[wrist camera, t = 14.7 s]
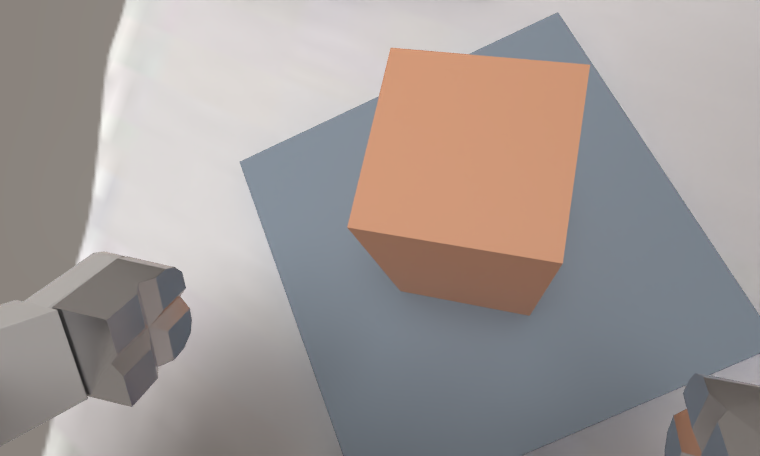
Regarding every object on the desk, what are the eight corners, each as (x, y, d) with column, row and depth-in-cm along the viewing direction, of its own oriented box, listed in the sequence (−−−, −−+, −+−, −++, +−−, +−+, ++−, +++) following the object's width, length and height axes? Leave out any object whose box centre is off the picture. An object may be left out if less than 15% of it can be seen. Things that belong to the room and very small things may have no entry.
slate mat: (554, 28, 22) (557, 12, 21) (763, 347, 18) (779, 345, 17) (249, 171, 23) (239, 161, 22) (372, 514, 18) (366, 521, 17)
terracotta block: (424, 174, 20) (390, 47, 13) (548, 191, 19) (590, 64, 12) (400, 291, 19) (347, 227, 12) (529, 315, 18) (562, 263, 11)
